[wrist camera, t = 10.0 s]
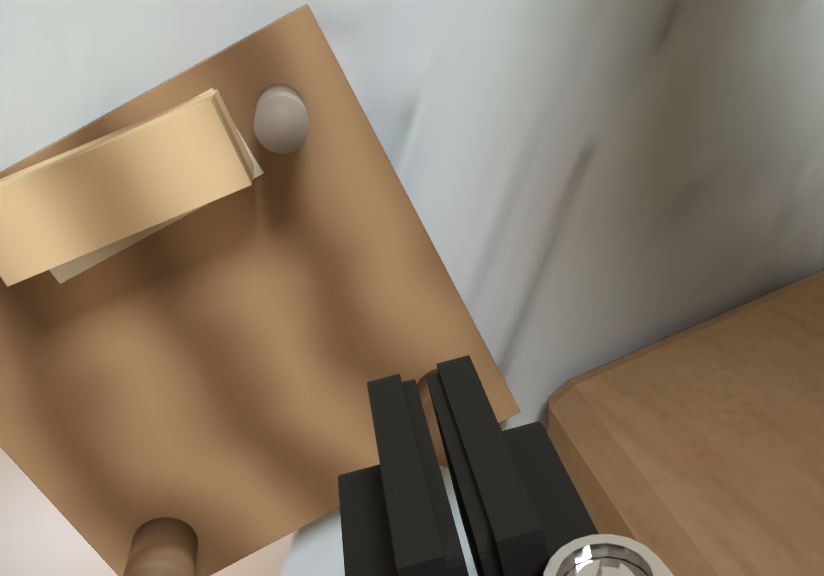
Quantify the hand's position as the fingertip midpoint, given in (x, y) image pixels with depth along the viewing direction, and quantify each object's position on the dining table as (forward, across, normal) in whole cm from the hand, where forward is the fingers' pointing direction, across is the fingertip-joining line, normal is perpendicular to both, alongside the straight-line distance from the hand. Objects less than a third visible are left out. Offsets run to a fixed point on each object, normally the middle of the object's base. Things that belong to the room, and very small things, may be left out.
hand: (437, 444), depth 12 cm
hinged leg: (+22, +9, -1) cm, 24 cm away
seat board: (+24, +8, +8) cm, 27 cm away
